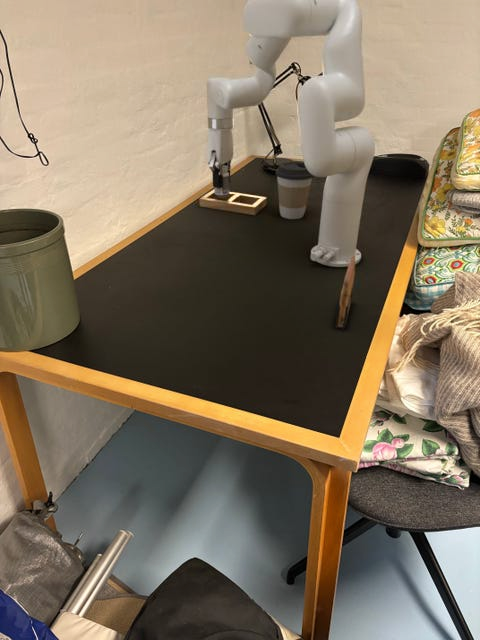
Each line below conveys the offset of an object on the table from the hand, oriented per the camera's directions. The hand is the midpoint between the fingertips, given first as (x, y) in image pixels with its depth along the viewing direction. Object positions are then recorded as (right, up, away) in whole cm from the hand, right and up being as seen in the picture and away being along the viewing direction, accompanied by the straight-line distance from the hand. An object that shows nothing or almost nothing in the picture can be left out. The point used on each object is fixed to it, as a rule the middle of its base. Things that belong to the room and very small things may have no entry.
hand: (221, 184), depth 157 cm
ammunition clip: (+27, -42, -53) cm, 73 cm away
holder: (+4, -6, +2) cm, 8 cm away
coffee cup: (+22, -11, -4) cm, 24 cm away
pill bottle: (0, -3, +2) cm, 3 cm away
